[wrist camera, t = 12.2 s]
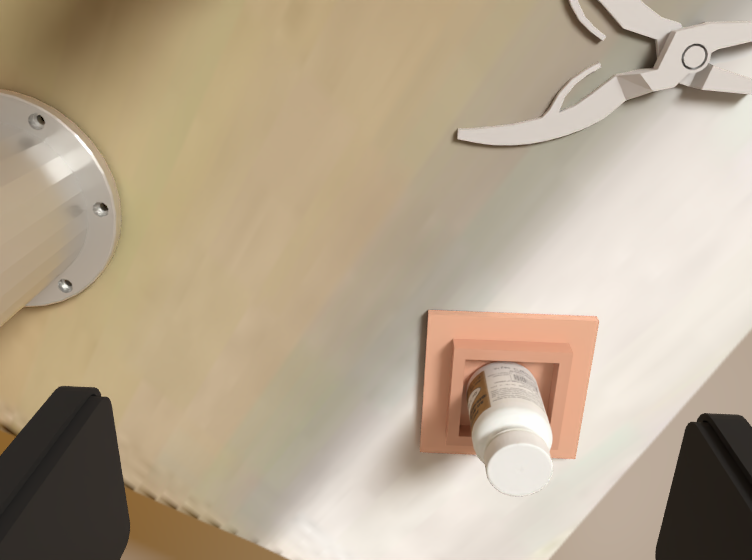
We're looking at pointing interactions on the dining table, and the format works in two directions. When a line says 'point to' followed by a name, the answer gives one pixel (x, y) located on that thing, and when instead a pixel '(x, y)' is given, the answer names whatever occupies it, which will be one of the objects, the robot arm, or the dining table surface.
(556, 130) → the pliers
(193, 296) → the dining table surface
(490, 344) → the rest
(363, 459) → the dining table surface
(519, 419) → the pill bottle
